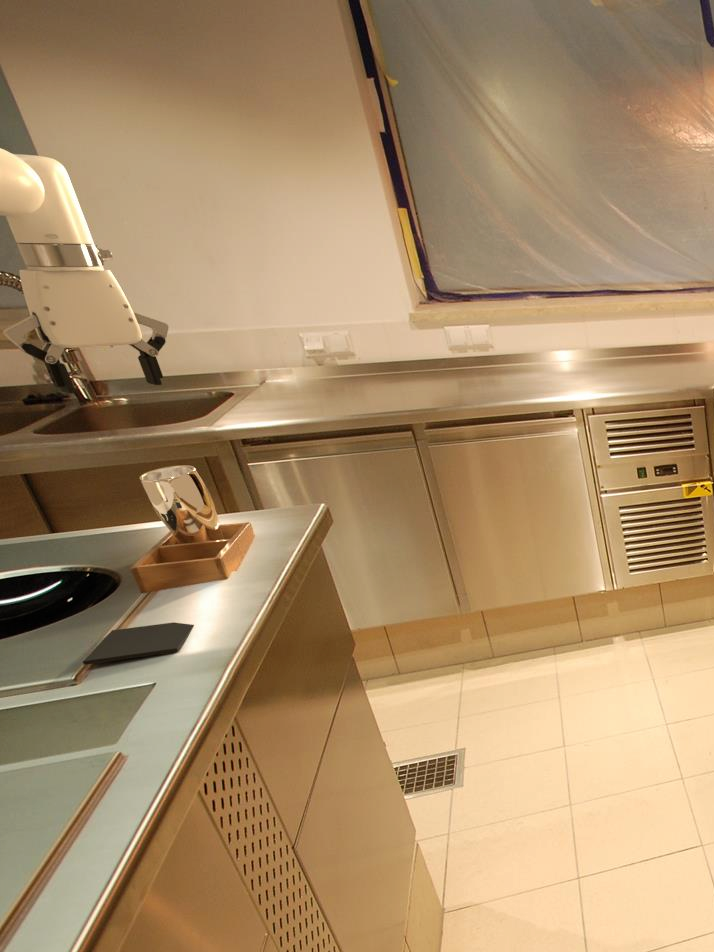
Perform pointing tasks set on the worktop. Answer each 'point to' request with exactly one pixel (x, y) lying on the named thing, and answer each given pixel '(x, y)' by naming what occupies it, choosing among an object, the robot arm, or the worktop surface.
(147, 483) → the beer glass
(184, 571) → the wooden divided tray
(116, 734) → the worktop surface
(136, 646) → the mat
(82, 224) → the robot arm
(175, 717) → the worktop surface
